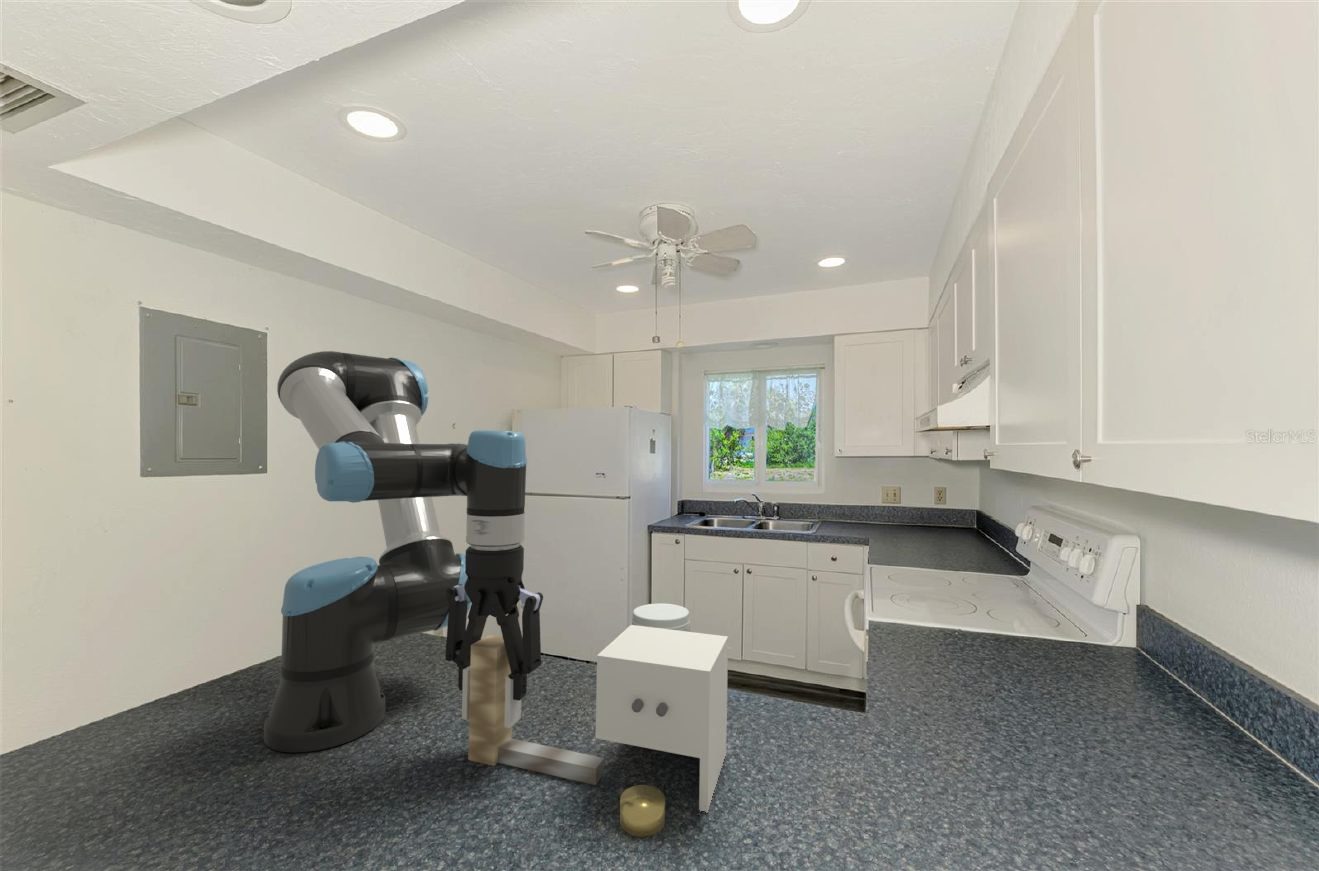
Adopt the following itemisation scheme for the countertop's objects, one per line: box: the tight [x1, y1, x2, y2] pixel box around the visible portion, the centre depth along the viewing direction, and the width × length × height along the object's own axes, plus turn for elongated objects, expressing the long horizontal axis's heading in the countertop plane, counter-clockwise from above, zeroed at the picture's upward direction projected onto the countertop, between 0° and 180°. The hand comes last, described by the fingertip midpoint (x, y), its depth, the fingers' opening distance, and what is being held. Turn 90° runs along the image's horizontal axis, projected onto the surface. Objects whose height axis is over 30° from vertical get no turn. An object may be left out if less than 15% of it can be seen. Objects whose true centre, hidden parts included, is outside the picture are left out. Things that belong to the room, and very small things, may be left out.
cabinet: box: [595, 624, 729, 814], centre depth 69 cm, size 14×13×16 cm
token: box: [619, 784, 666, 838], centre depth 60 cm, size 5×5×2 cm
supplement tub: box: [631, 602, 691, 632], centre depth 88 cm, size 10×10×15 cm
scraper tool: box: [467, 634, 605, 786], centre depth 70 cm, size 18×4×15 cm, turn 72°
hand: (491, 718), depth 72 cm, fingers open, 6 cm apart
